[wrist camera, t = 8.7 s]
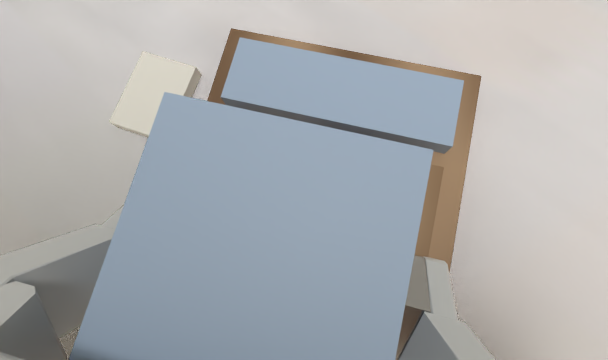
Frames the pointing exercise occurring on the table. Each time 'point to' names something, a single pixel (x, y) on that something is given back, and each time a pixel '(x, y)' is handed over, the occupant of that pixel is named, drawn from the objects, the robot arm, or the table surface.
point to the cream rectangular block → (152, 91)
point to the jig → (444, 167)
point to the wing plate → (345, 94)
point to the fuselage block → (258, 242)
